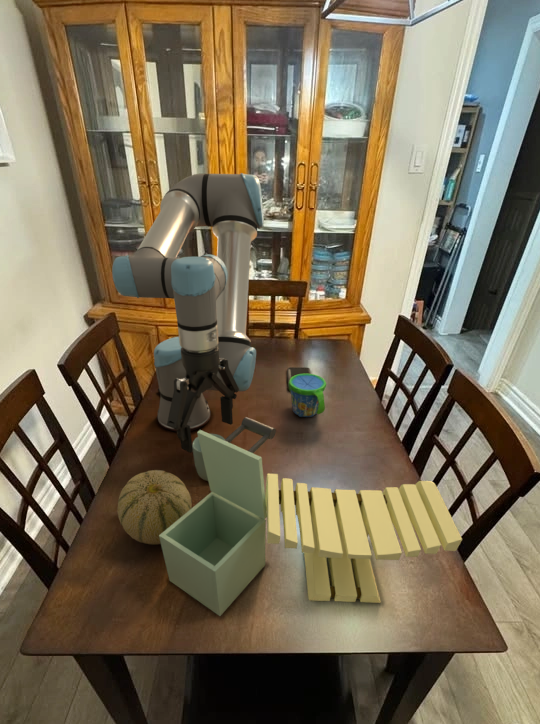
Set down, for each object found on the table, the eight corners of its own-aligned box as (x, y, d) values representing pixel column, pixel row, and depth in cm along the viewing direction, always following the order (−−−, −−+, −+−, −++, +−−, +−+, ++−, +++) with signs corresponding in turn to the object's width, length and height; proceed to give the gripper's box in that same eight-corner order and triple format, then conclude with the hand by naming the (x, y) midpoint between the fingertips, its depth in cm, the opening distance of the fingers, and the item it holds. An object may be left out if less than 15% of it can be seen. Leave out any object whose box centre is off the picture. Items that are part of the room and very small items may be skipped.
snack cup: (333, 421, 121) (337, 390, 115) (301, 428, 118) (303, 397, 112) (308, 396, 132) (311, 367, 126) (278, 403, 129) (279, 373, 123)
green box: (220, 616, 72) (215, 571, 64) (169, 580, 78) (158, 535, 70) (265, 565, 81) (265, 519, 73) (216, 536, 87) (212, 491, 79)
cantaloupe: (153, 499, 95) (142, 446, 86) (208, 519, 91) (202, 466, 81) (109, 544, 85) (90, 490, 76) (168, 569, 80) (156, 515, 71)
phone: (288, 387, 134) (287, 367, 146) (288, 391, 135) (287, 370, 147) (312, 388, 134) (309, 367, 146) (312, 391, 135) (309, 370, 146)
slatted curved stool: (403, 537, 87) (429, 472, 76) (426, 604, 75) (462, 539, 64) (261, 531, 86) (267, 465, 75) (261, 598, 74) (268, 531, 63)
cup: (223, 488, 98) (220, 455, 92) (191, 483, 100) (187, 450, 93) (231, 467, 104) (229, 435, 98) (202, 463, 106) (198, 431, 99)
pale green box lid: (258, 460, 62) (292, 426, 68) (196, 432, 68) (232, 403, 73) (264, 519, 73) (293, 486, 78) (210, 490, 78) (240, 461, 83)
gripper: (166, 374, 71) (181, 469, 84) (253, 331, 87) (254, 417, 100) (137, 363, 75) (155, 456, 88) (225, 323, 91) (230, 407, 104)
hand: (208, 435), depth 94 cm, fingers open, 13 cm apart
